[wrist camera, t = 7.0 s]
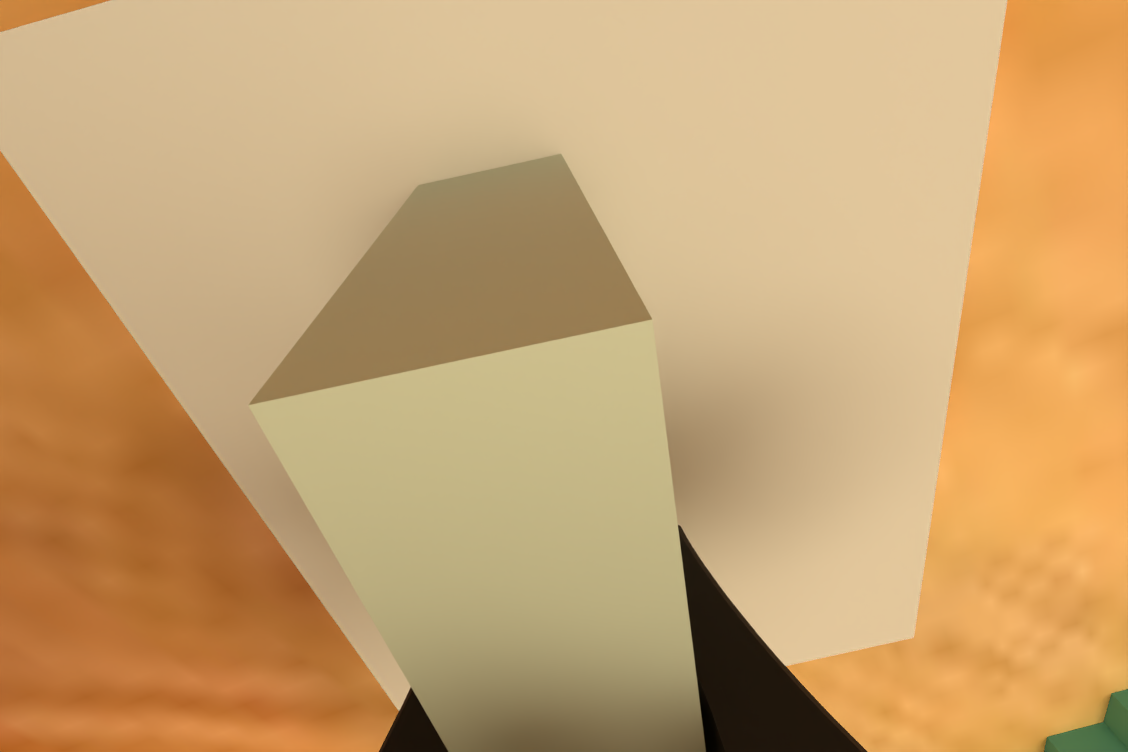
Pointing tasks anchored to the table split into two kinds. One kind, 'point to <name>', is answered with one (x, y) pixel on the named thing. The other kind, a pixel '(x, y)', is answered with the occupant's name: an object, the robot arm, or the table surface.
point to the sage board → (500, 469)
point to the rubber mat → (621, 205)
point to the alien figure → (1097, 731)
